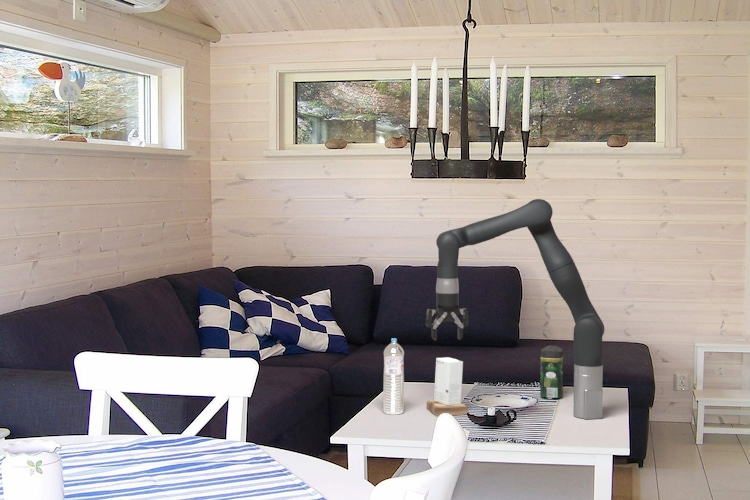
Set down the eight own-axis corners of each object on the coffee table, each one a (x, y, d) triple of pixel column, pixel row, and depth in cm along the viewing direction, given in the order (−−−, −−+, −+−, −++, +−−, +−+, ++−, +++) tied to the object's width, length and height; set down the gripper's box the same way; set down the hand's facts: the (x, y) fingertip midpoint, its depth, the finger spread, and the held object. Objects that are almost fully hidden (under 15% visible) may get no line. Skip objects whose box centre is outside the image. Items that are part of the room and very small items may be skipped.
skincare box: (433, 401, 317) (434, 357, 316) (447, 399, 321) (448, 356, 320) (448, 406, 310) (448, 361, 309) (462, 404, 313) (463, 360, 313)
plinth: (467, 414, 311) (467, 405, 311) (435, 416, 309) (435, 407, 309) (457, 407, 322) (457, 398, 322) (426, 408, 320) (426, 400, 319)
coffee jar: (542, 393, 345) (542, 343, 344) (563, 395, 343) (564, 344, 342) (538, 399, 336) (539, 347, 335) (560, 400, 334) (561, 348, 333)
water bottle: (390, 409, 318) (391, 336, 317) (407, 412, 314) (408, 338, 313) (379, 413, 313) (379, 338, 311) (396, 416, 309) (396, 340, 307)
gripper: (430, 293, 308) (429, 342, 309) (471, 292, 311) (471, 340, 312) (423, 290, 315) (423, 338, 316) (464, 290, 318) (464, 337, 319)
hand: (447, 339), depth 314 cm, fingers open, 8 cm apart
